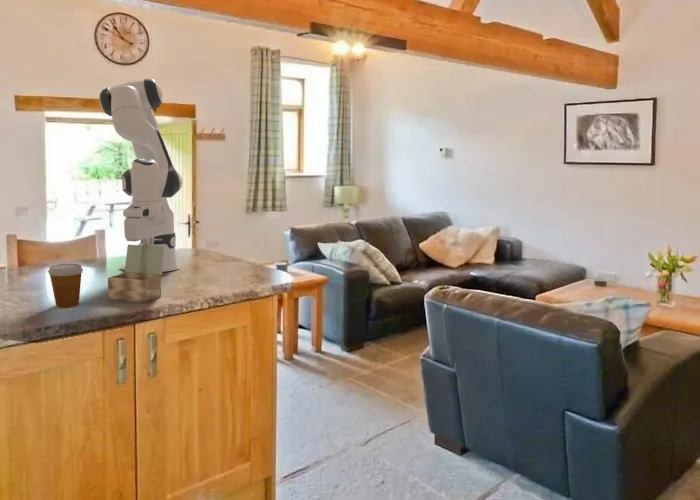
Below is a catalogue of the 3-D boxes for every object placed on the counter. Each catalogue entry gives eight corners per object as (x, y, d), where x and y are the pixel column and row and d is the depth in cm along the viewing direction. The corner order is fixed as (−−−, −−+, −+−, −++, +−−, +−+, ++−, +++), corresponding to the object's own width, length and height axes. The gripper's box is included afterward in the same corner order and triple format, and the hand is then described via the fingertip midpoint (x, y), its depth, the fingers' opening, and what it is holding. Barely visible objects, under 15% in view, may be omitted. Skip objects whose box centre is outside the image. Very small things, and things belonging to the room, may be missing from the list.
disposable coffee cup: (73, 299, 193) (71, 261, 191) (91, 304, 188) (89, 265, 186) (43, 305, 185) (41, 266, 183) (61, 311, 180) (59, 270, 178)
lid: (127, 244, 202) (129, 244, 203) (124, 271, 201) (126, 272, 202) (163, 246, 199) (164, 246, 200) (160, 274, 198) (161, 274, 199)
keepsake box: (108, 299, 194) (107, 277, 193) (125, 293, 202) (124, 272, 201) (145, 303, 191) (145, 280, 190) (161, 296, 200) (160, 275, 198)
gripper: (155, 205, 211) (156, 245, 213) (119, 211, 192) (121, 255, 194) (172, 206, 210) (173, 246, 212) (137, 212, 190) (139, 256, 192)
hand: (148, 251), depth 203 cm, fingers closed
